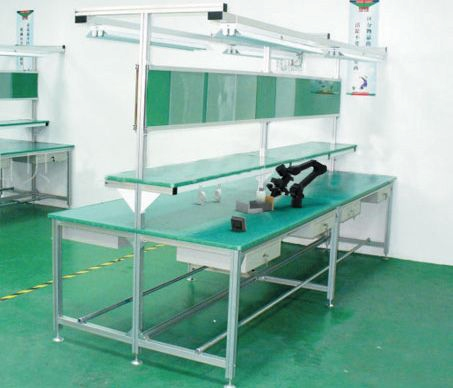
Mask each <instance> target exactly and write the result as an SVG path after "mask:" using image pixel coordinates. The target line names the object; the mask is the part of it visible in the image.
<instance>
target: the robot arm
mask: <svg viewBox="0 0 453 388" xmlns="http://www.w3.org/2000/svg"><path fill="white" fill-rule="evenodd" d="M311 168H312V171H311V172H310V173H308V175H307V176H305V177H304V178H303V179H301V181H299V182H298V183H297V182H294V181H295V179H294V178H295V177H296V176H298V175H300V174H301V173H302V172H303V171H305V170H308V169H311ZM274 170H275V172H276V173H277V174H278V176H279V177H278V178H277V177H271V179H270V183H269V182H268V183H267V184H266V185H265V186H266V188H267V189H268V191H269V192H271V193H270V194H269V196H271V197H274V199H275V198H277V197H279V196H282V194H283V193H284V196H285V197H288V196H290V197H291V199H290V207H293V208H303V207H304V206H303V199H305V194H304V189H305V188H306V187H307V186H308V185H310V184H311V183H312V182H313V181H314V180H315V179H316V178H318V176H322V175H324V174H326V173H327V172H328V167H327V164H323V163H321V162H319V161H318V159H311V158H310V160H307V161H304V162H302V163H300V164H297V165H289V166H288V167H287V166H286V165H285V163H281V164H279V165H278V166H276V167H275V169H274ZM290 182H294V183H293V184H292V185H290V187H289V189H288V185H289V184H290Z"/></svg>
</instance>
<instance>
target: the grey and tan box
mask: <svg viewBox="0 0 453 388" xmlns="http://www.w3.org/2000/svg"><path fill="white" fill-rule="evenodd" d="M274 202H275V198H274V197H271V196H270V195H267V194H266V198H265V203H256V199H255V200H253V199H252V200H249V202H248V203H249V204H250V208H249V209H255V208H263V209H262V211H264V212H266V211H274Z"/></svg>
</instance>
